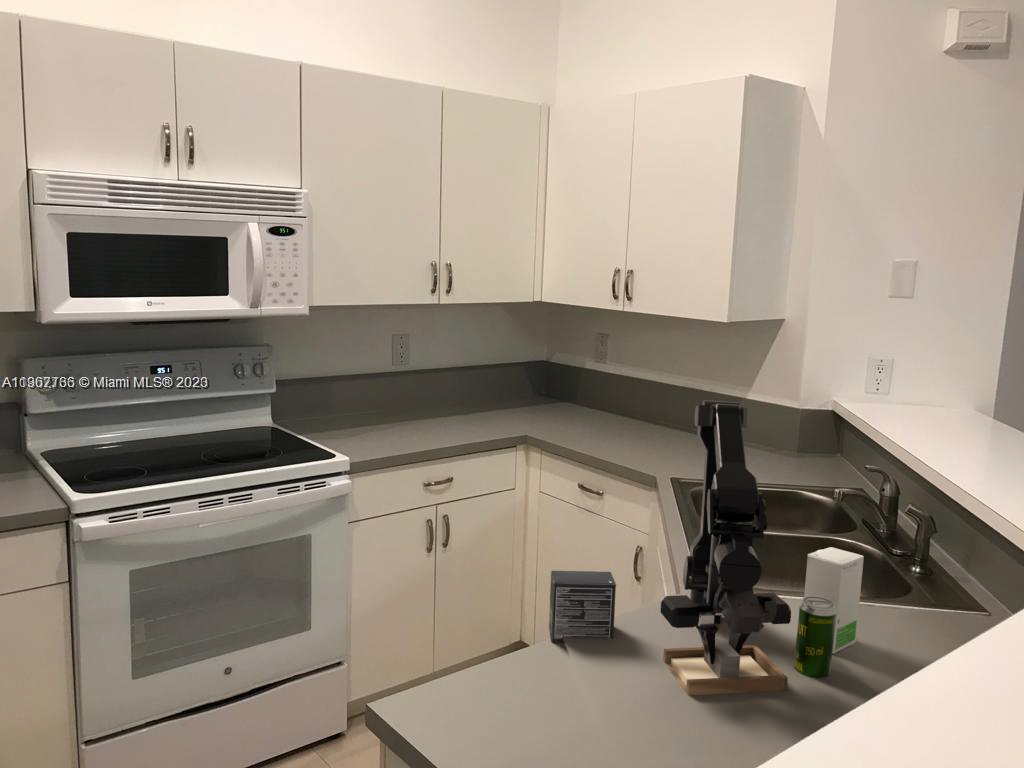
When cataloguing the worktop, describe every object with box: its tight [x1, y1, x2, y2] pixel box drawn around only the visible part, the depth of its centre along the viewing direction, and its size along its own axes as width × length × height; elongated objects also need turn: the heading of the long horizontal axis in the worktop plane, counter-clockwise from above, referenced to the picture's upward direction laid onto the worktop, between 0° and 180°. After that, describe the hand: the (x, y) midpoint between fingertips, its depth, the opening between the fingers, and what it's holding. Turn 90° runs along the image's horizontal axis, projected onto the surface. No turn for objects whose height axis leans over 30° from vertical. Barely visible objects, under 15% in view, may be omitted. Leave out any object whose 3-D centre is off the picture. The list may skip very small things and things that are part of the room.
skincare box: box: [803, 546, 865, 655], centre depth 143 cm, size 8×7×16 cm
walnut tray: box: [662, 644, 789, 696], centre depth 129 cm, size 11×15×3 cm
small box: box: [548, 570, 617, 644], centre depth 142 cm, size 11×6×10 cm, turn 92°
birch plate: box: [671, 637, 769, 686], centre depth 129 cm, size 8×13×4 cm, turn 100°
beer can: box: [793, 596, 836, 679], centre depth 131 cm, size 5×5×12 cm
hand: (721, 662), depth 129 cm, fingers closed on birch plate, 3 cm apart
